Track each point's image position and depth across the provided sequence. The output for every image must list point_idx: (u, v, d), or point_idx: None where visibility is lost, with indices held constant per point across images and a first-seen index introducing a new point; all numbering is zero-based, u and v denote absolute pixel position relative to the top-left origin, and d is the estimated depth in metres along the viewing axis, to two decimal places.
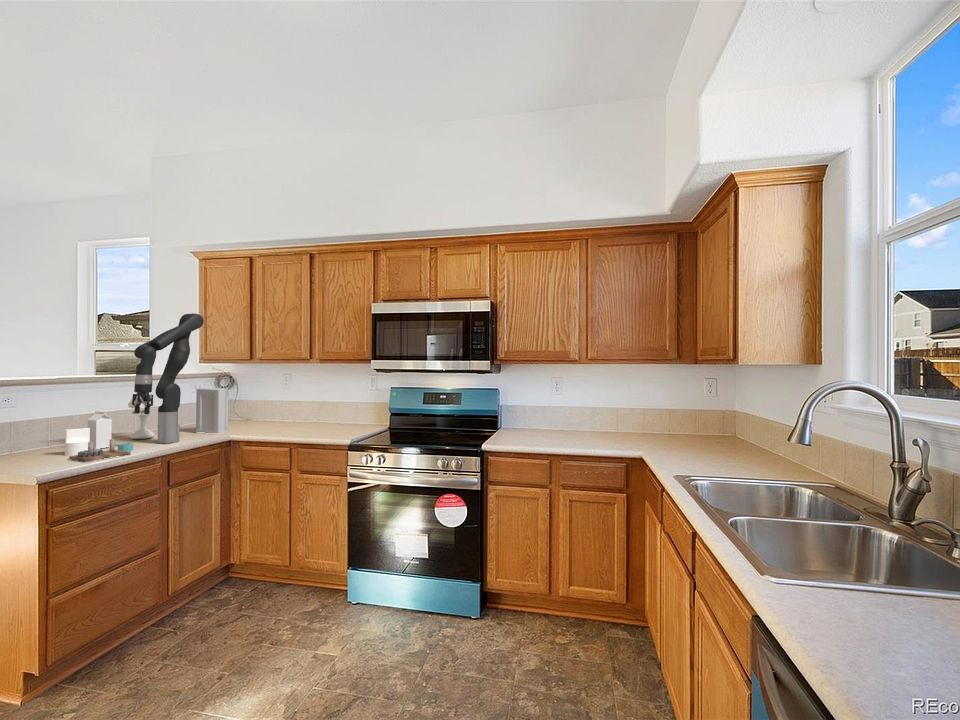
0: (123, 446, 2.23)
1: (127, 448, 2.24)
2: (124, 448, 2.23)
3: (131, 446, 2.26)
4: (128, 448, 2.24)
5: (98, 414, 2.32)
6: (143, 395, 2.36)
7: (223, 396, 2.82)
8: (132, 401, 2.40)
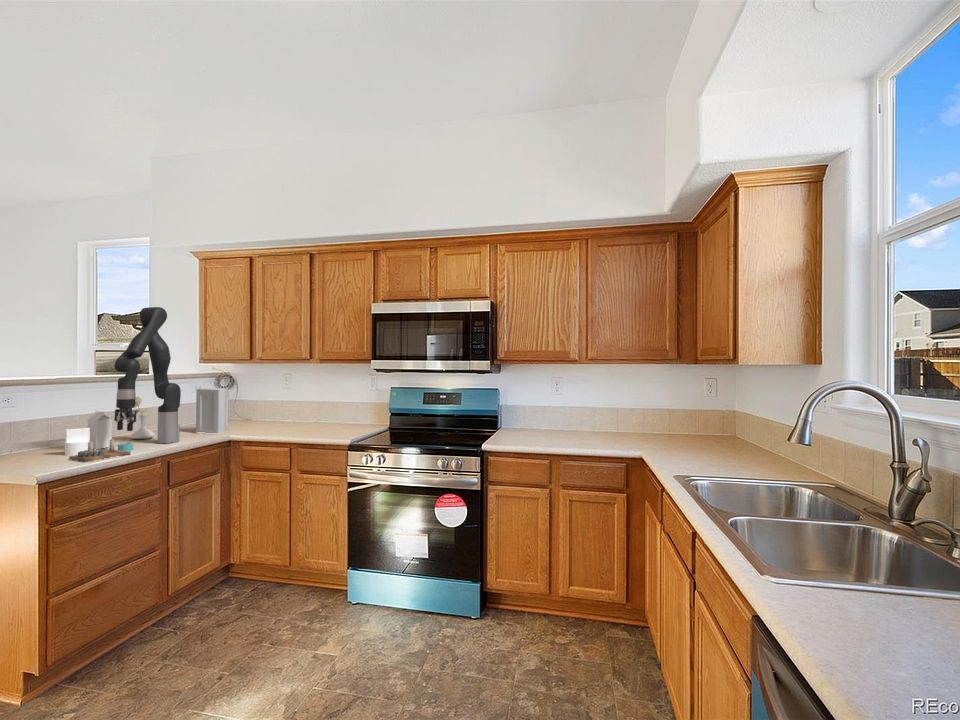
0: (123, 446, 2.23)
1: (127, 448, 2.24)
2: (124, 448, 2.23)
3: (131, 446, 2.26)
4: (128, 448, 2.24)
5: (98, 414, 2.32)
6: (126, 411, 2.24)
7: (223, 396, 2.82)
8: (115, 417, 2.28)
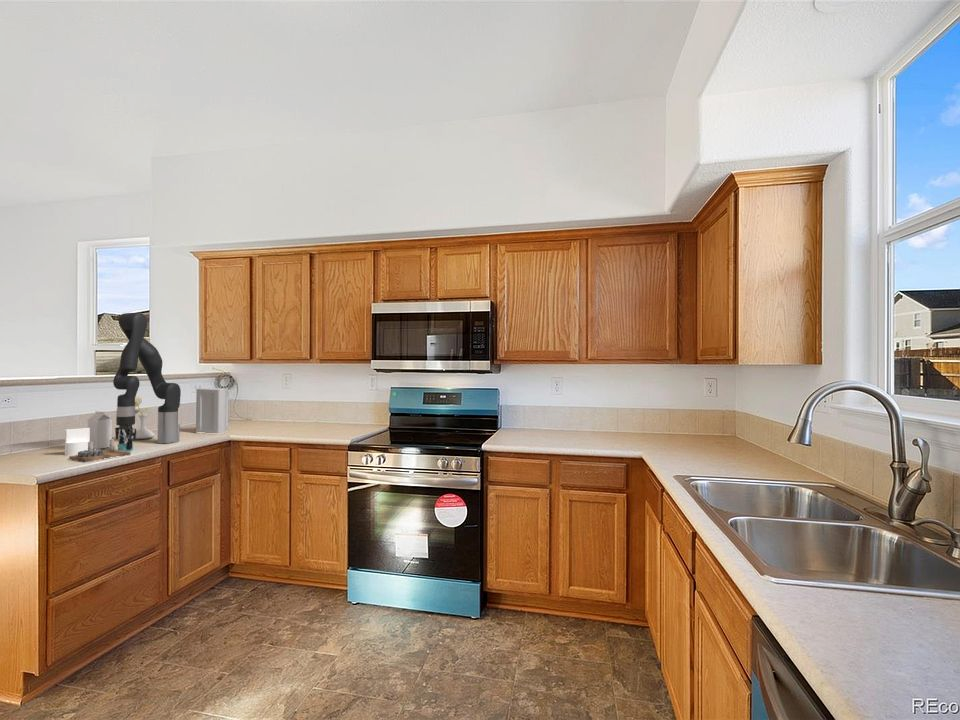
0: (123, 446, 2.23)
1: None
2: (124, 448, 2.23)
3: None
4: None
5: (98, 414, 2.32)
6: (126, 428, 2.24)
7: (223, 396, 2.82)
8: (116, 435, 2.27)
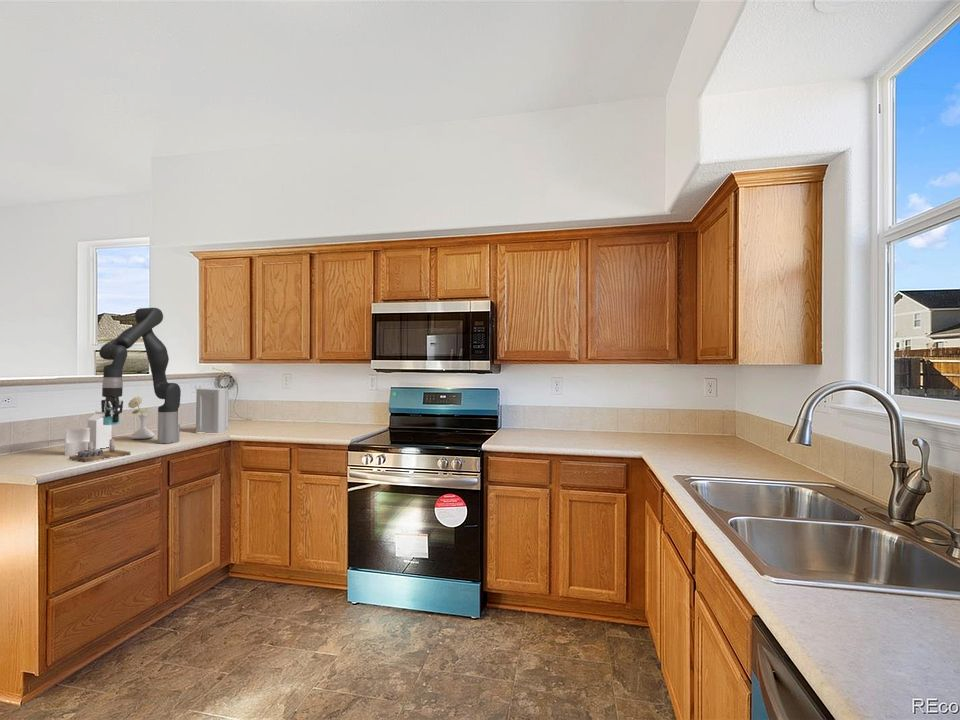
0: (109, 419, 2.12)
1: None
2: (110, 421, 2.12)
3: None
4: None
5: (98, 414, 2.32)
6: (112, 400, 2.13)
7: (223, 396, 2.82)
8: (102, 408, 2.16)
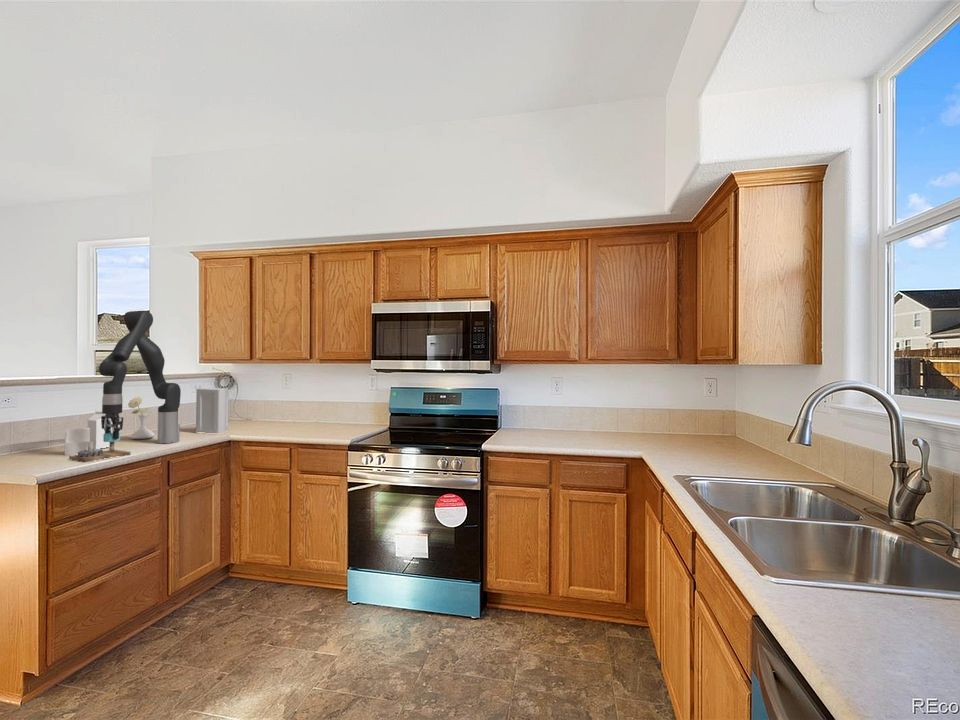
0: (109, 436, 2.12)
1: None
2: (110, 438, 2.12)
3: None
4: None
5: (98, 414, 2.32)
6: (112, 416, 2.12)
7: (223, 396, 2.82)
8: (102, 424, 2.16)
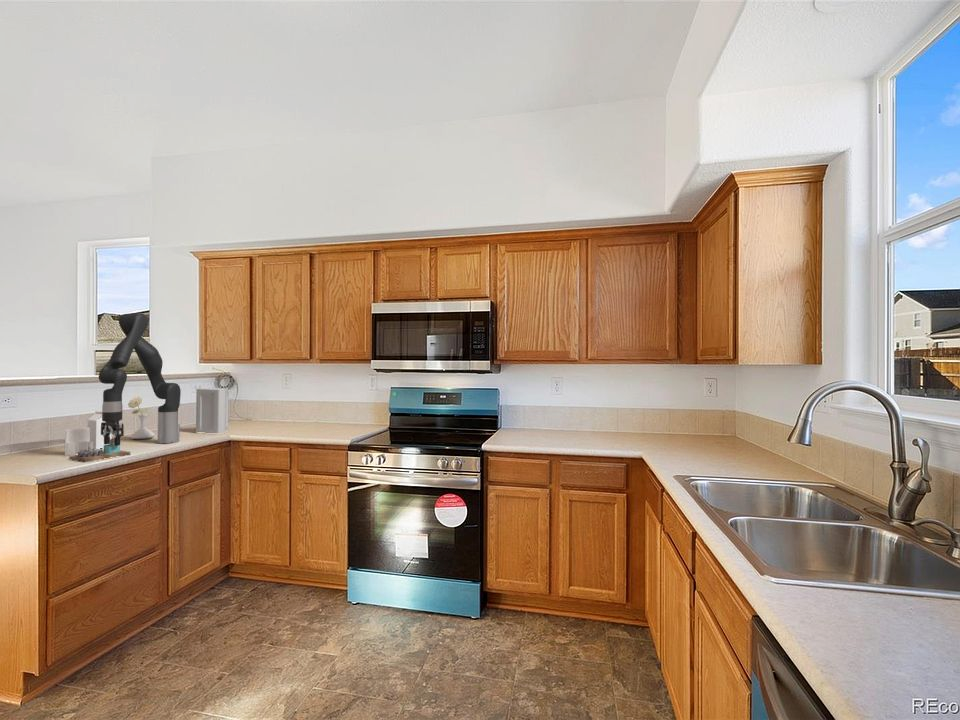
0: (109, 447, 2.12)
1: (113, 449, 2.13)
2: (110, 449, 2.12)
3: (118, 447, 2.14)
4: (114, 449, 2.13)
5: (98, 414, 2.32)
6: (112, 424, 2.12)
7: (223, 396, 2.82)
8: (101, 430, 2.16)
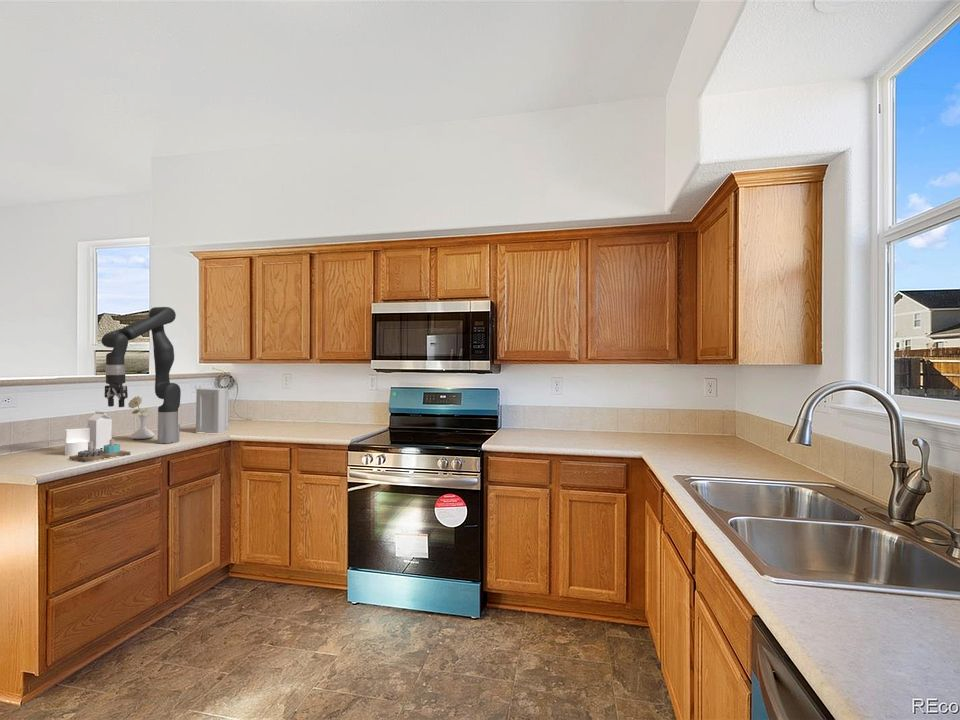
0: (109, 447, 2.12)
1: (113, 449, 2.13)
2: (110, 449, 2.12)
3: (118, 447, 2.14)
4: (114, 449, 2.13)
5: (98, 414, 2.32)
6: (116, 387, 2.19)
7: (223, 396, 2.82)
8: (105, 393, 2.22)
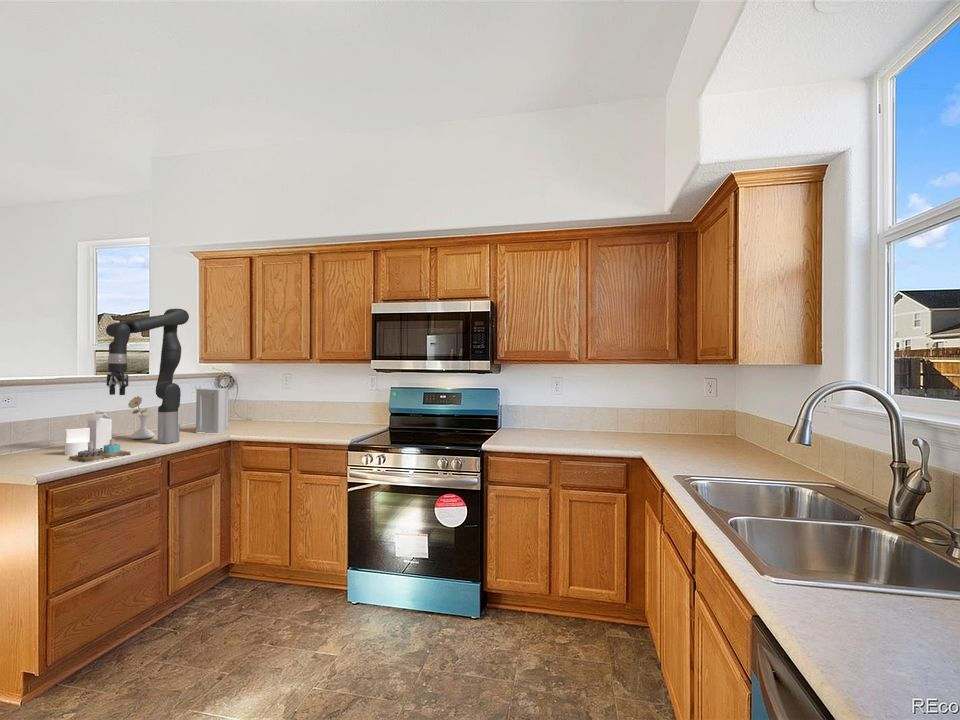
0: (109, 447, 2.12)
1: (113, 449, 2.13)
2: (110, 449, 2.12)
3: (118, 447, 2.14)
4: (114, 449, 2.13)
5: (98, 414, 2.32)
6: (117, 375, 2.24)
7: (223, 396, 2.82)
8: (107, 382, 2.28)
